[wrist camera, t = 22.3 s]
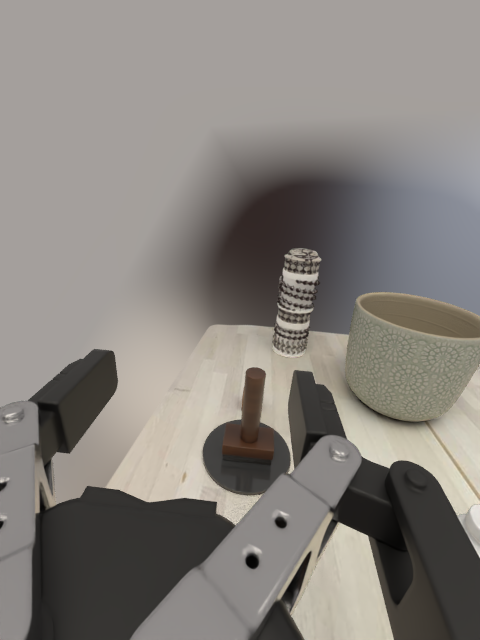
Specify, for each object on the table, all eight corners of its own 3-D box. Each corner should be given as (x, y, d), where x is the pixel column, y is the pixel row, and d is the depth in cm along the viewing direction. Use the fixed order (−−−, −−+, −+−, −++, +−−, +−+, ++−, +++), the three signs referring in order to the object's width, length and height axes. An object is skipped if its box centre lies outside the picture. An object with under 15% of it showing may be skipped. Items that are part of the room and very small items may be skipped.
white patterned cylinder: (311, 347, 75) (330, 250, 65) (299, 362, 67) (318, 256, 57) (279, 337, 79) (292, 244, 69) (264, 350, 71) (276, 249, 61)
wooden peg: (271, 466, 41) (284, 385, 35) (221, 460, 41) (226, 379, 35) (271, 442, 44) (282, 366, 39) (225, 437, 45) (230, 361, 39)
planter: (475, 421, 53) (523, 328, 45) (399, 456, 44) (442, 349, 37) (382, 363, 70) (406, 288, 62) (314, 380, 61) (332, 296, 54)
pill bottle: (422, 544, 33) (450, 493, 30) (469, 551, 33) (503, 500, 29) (447, 603, 28) (485, 551, 25) (503, 612, 28) (550, 561, 24)
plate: (203, 499, 36) (203, 496, 36) (202, 423, 48) (202, 421, 48) (301, 491, 38) (302, 488, 38) (277, 420, 50) (278, 418, 50)
